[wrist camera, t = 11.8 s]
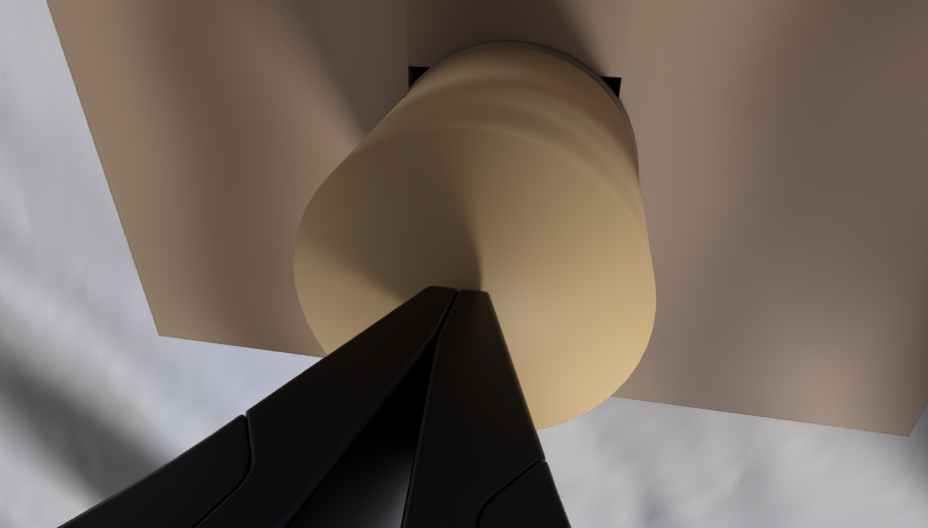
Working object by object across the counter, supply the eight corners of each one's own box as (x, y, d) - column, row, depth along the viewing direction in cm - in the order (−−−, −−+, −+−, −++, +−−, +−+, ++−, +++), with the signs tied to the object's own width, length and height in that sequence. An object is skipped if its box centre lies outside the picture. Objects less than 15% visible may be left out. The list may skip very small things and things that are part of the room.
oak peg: (652, 28, 12) (699, 139, 7) (615, 248, 15) (628, 458, 9) (405, 18, 13) (261, 109, 8) (414, 228, 16) (314, 411, 10)
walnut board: (1149, -171, 10) (1265, -185, 8) (875, 380, 16) (908, 436, 14) (68, -161, 13) (-11, -170, 11) (196, 296, 19) (159, 335, 17)
